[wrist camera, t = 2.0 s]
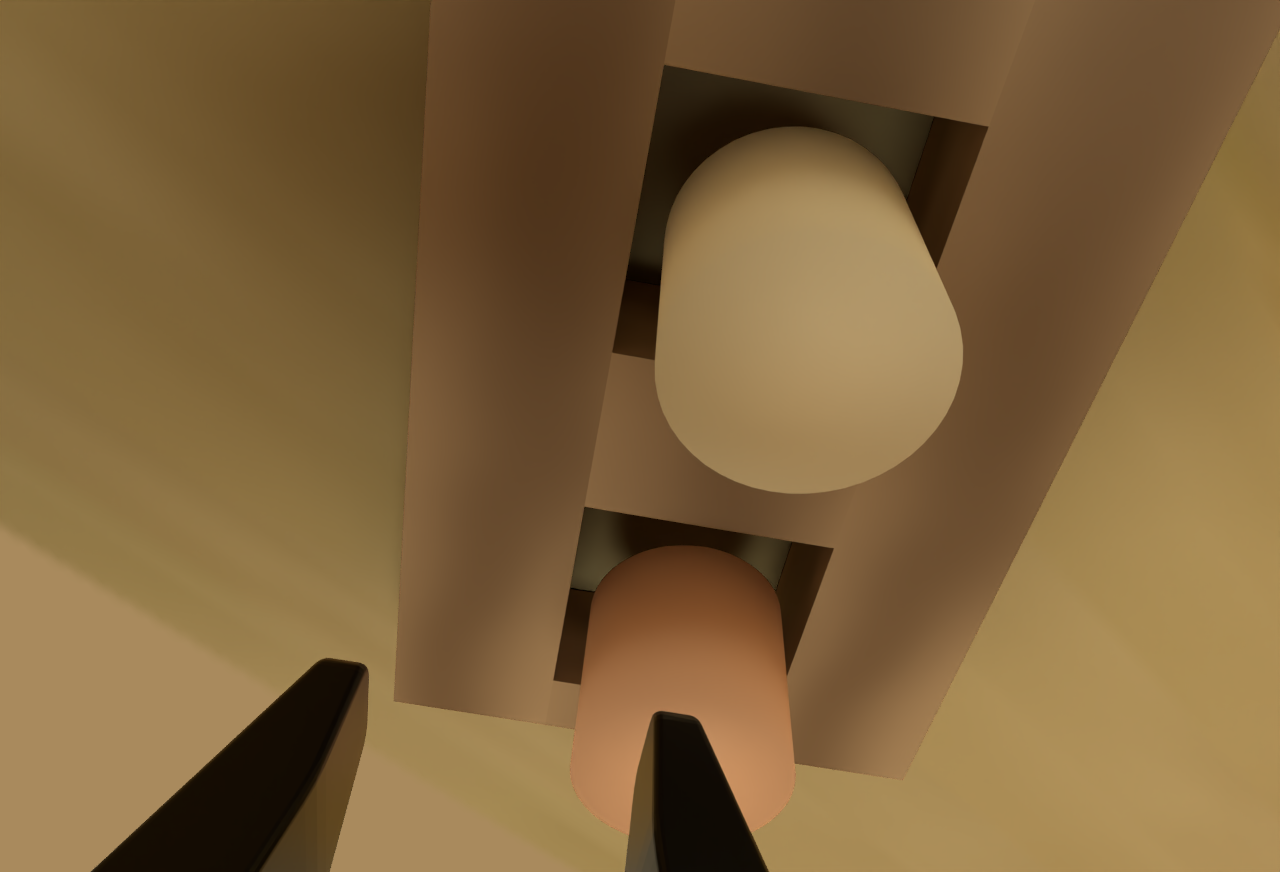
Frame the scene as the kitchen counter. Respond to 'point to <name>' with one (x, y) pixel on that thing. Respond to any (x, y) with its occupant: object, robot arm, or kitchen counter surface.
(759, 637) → the terracotta button
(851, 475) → the cream button
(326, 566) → the kitchen counter surface
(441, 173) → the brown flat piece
